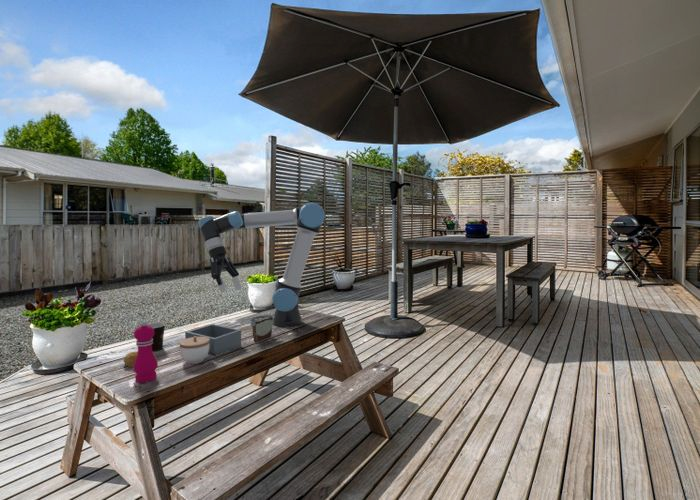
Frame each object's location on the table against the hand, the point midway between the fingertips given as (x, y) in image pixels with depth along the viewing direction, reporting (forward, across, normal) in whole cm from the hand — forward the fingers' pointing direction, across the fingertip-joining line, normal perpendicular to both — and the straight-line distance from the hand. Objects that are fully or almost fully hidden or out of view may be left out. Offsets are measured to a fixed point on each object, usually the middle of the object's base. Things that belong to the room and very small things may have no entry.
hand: (231, 290), depth 168 cm
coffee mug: (+12, +18, -31) cm, 38 cm away
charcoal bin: (+21, +12, -10) cm, 26 cm away
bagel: (+16, +33, -27) cm, 46 cm away
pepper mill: (+23, +45, -16) cm, 53 cm away
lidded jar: (+23, +27, -9) cm, 37 cm away
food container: (+26, -2, +4) cm, 26 cm away
